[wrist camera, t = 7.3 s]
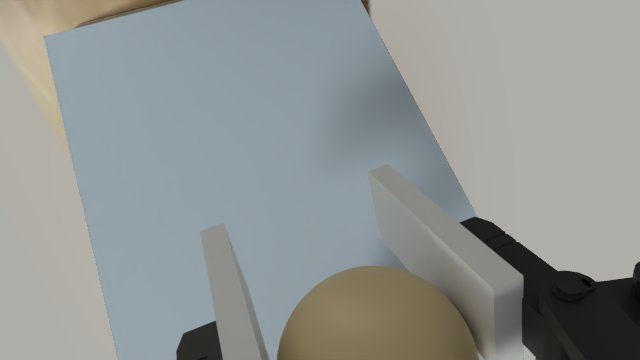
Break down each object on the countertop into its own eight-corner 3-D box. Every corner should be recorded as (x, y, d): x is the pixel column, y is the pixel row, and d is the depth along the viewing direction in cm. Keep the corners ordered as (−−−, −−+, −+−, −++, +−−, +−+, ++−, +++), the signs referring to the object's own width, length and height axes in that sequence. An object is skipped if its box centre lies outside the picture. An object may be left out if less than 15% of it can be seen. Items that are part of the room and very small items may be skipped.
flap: (49, 44, 24) (-118, -176, 14) (338, -32, 27) (365, -255, 17) (161, 525, 17) (-24, 759, 7) (540, 345, 20) (785, 330, 10)
